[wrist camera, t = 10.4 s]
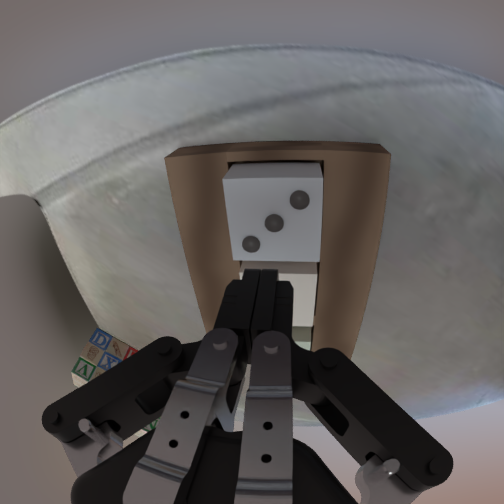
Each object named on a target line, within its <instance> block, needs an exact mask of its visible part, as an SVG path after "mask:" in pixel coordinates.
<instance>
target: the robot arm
mask: <svg viewBox="0 0 504 504" xmlns="http://www.w3.org/2000/svg"><path fill="white" fill-rule="evenodd" d="M293 300H294V288H293V286H292V285H291V283H290V281H279V272H278V269H262V270H261V269H244V273H243V276H242V280H238V279H233V280H232V281H231V282H230V283H229V284H228V285H227V286H226V289H225V292H224V297H223V299H222V302H221V305H220V308H219V311H218V315H217V318H216V321H215V324H214V327H213V330H211V331H209V332H208V333H207V334H206V335H205V336H204V337H203V339H202V340H200V341H198V342H193V343H187V344H181V343H180V341H179V340H178V339H176V338H174V337H170V336H166V337H161V338H158V339H157V340H155V341H153V342H152V343H150V344H149V345H147V346H145V347H144V348H142V349H141V350H139V351H138V352H136V353H134V354H133V355H131V356H130V357H128V358H126V359H125V360H123V361H122V362H120V363H118V364H117V365H115V366H113V367H112V368H110V369H109V370H107V371H105V372H104V373H102V374H100V375H99V376H97V377H96V378H94V379H92V380H91V381H89V382H87V383H86V384H84V385H82V386H81V387H79V388H77V389H76V390H74V391H73V392H71V393H69V394H68V395H66V396H64V397H63V398H61V399H59V400H57V401H56V402H54V403H52V404H51V405H49V406H48V407H47V408H46V409H45V411H44V412H43V415H42V424H43V427H44V428H45V430H46V431H48V432H49V433H50V434H52V435H53V436H54V437H56V438H57V439H58V440H59V441H60V442H61V443H62V445H63V447H64V450H65V452H66V454H67V456H68V458H69V461H70V462H71V465H72V467H73V469H74V471H75V473H76V475H77V477H78V478H77V479H76V481H75V482H74V484H73V487H72V490H71V503H72V504H358V503H357V502H356V501H355V499H354V498H353V497H352V496H351V495H350V494H349V492H348V491H347V490H346V489H345V488H344V486H343V485H342V484H341V483H340V482H339V480H338V479H337V478H336V477H335V476H334V474H333V473H332V472H331V471H330V470H329V468H328V467H327V466H326V465H325V463H324V462H323V461H322V460H321V458H320V457H319V456H318V455H317V454H316V452H315V451H314V450H313V449H311V448H310V447H309V446H307V445H306V444H305V443H303V442H301V441H299V440H296V439H294V438H293V401H292V398H295V399H298V400H301V401H304V402H305V404H306V406H307V407H308V408H309V409H310V410H311V411H312V413H313V414H314V415H315V416H316V417H317V418H318V420H319V421H320V422H321V423H322V424H323V425H324V426H325V427H326V428H327V430H328V431H329V432H330V433H331V434H332V435H333V436H334V437H335V439H336V440H337V441H338V442H339V443H340V444H341V445H342V446H343V447H344V448H345V449H346V450H347V452H348V453H349V454H350V455H351V456H352V457H353V458H354V459H355V460H356V461H357V462H358V463H359V464H360V465H361V467H360V468H359V470H358V471H357V473H356V477H355V483H356V486H357V487H358V489H359V490H360V493H361V503H360V504H411V502H413V501H414V500H415V499H416V498H417V497H418V496H419V495H420V494H421V493H422V492H423V491H425V490H427V489H430V488H432V487H435V486H437V485H439V484H441V483H443V482H444V481H445V480H447V478H448V477H449V476H450V474H451V472H452V469H453V458H452V456H451V454H450V453H449V452H448V451H447V450H446V449H445V448H444V447H443V446H442V445H441V444H440V443H439V442H438V441H437V440H435V439H434V438H433V437H432V436H431V435H430V434H429V433H428V432H427V431H426V430H425V429H423V428H422V427H421V426H420V425H419V424H418V423H417V422H416V421H415V420H414V419H413V418H412V417H411V416H409V415H408V414H407V413H406V412H405V411H404V410H403V409H402V408H401V407H400V406H399V405H398V404H397V403H396V402H394V401H393V400H392V399H391V398H390V397H389V396H388V395H387V394H386V393H385V392H384V391H383V390H382V389H381V388H380V387H378V386H377V385H376V384H375V383H374V382H373V381H372V380H371V379H370V378H369V377H368V376H367V375H366V374H365V373H364V372H363V371H361V370H360V369H359V368H358V367H357V366H356V365H355V364H354V363H353V362H352V361H351V360H350V359H349V358H348V357H347V356H346V355H345V354H344V353H342V352H341V351H339V350H338V349H335V348H329V347H327V348H321V349H319V350H317V351H315V352H313V351H310V350H306V349H304V348H302V347H300V346H298V345H297V344H296V343H295V341H294V340H293V338H292V325H293ZM247 364H251V370H250V382H249V389H248V390H247V393H246V401H245V412H244V422H243V431H237V432H233V429H234V417H235V413H236V410H237V406H238V403H239V399H240V396H241V392H242V389H243V385H244V382H245V372H246V367H247ZM159 417H161V418H160V420H159V423H158V425H157V427H156V428H154V429H152V430H150V431H148V432H147V433H146V434H144V435H143V436H141V437H140V438H138V439H137V440H135V441H134V442H132V443H131V444H129V445H128V446H126V447H125V448H123V441H124V440H125V439H127V438H128V437H130V436H132V435H133V434H135V433H136V432H138V431H140V430H141V429H143V428H144V427H146V426H147V425H149V424H150V423H152V422H153V421H155V420H156V419H158V418H159Z"/></svg>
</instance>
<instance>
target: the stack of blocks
mask: <svg viewBox="0 0 504 504" xmlns="http://www.w3.org/2000/svg"><path fill="white" fill-rule="evenodd" d="M136 352H138V350H136V349H134V348H132V347H130V346H129V345H127V344H125V343H123V342H121V341H119V340H118V339H116V338H114V337H112V336H111V335H109V334H107V333H105V332H104V331H102V330H100V329H98V328H97V329H96V330H95V332H94V334H93V335H92V337H91V338H90V340H89V342H88V343H87V345H86V346H85V348H84V350H83V351H82V353H81V355H80V357H79V359H78V361H77V362H76V364H75V366H74V368H73V370H72V378H73V382H74V385H75V386H78V387H81V386H82V385H84V384H86V383H87V382H89V381H91V380H92V379H94V378H96V377H97V376H99V375H100V374H102V373H104V372H105V371H107V370H109V369H110V368H112V367H113V366H115V365H117V364H118V363H120V362H122V361H123V360H125V359H126V358H128V357H130V356H131V355H133V354H134V353H136ZM160 418H161V417H159V418H158V419H156V420H155V421H153V422H152V423H150V424H149V425H147V426H146V427H144V428H143V429H141V430H140V431H138V432H136V433H135V434H134V435H136V436H138V437H141V436H143V435H144V434H146V433H147V432H148V431H150V430H152V429H154V428H156V427H157V425H158V423H159V420H160Z"/></svg>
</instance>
